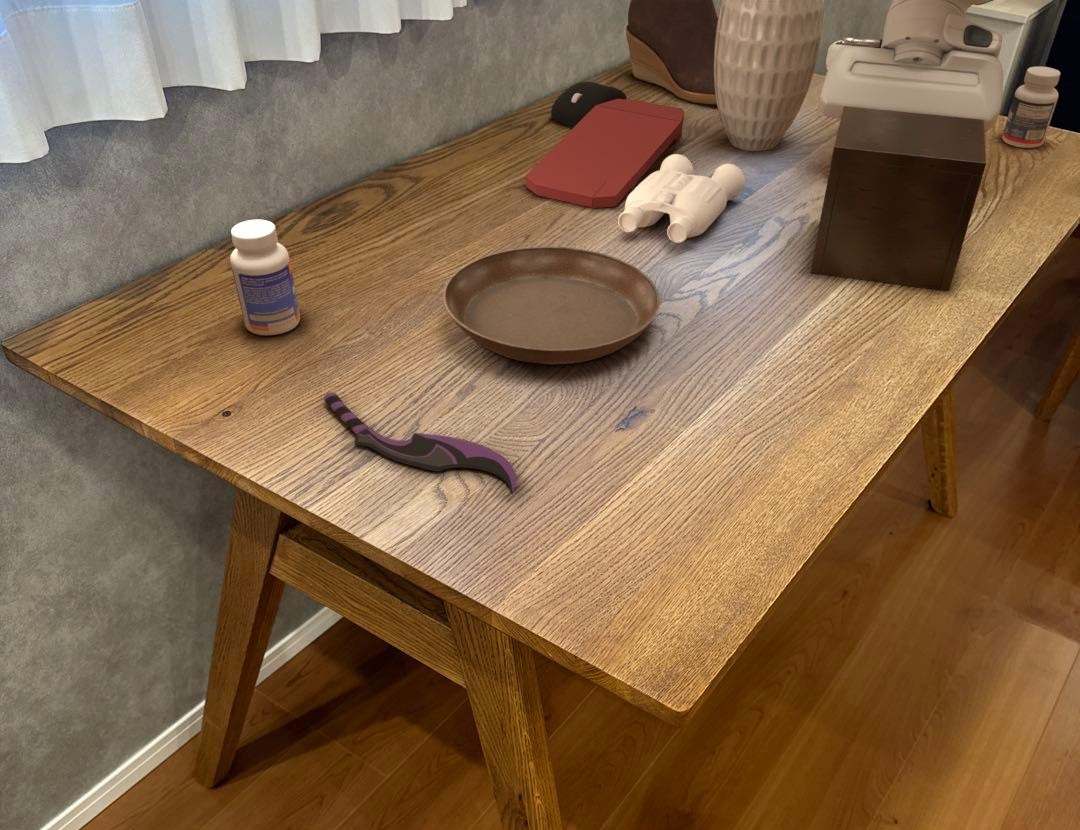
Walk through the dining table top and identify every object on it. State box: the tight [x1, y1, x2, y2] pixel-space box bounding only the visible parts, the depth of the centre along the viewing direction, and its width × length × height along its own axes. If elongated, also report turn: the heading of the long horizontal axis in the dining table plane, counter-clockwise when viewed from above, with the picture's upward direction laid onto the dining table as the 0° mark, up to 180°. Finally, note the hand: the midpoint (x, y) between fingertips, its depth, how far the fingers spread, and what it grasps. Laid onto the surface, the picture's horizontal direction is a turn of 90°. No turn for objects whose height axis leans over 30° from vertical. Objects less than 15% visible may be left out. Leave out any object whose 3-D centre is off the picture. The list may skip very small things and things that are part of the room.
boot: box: [625, 0, 718, 105], centre depth 143 cm, size 9×24×20 cm, turn 47°
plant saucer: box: [442, 246, 661, 365], centre depth 98 cm, size 21×21×3 cm
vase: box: [714, 0, 825, 152], centre depth 125 cm, size 13×13×28 cm
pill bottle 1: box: [229, 219, 301, 336], centre depth 96 cm, size 5×5×10 cm
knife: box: [323, 391, 518, 493], centre depth 84 cm, size 21×1×5 cm
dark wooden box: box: [809, 106, 987, 292], centre depth 105 cm, size 14×12×13 cm
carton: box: [524, 98, 685, 209], centre depth 128 cm, size 12×5×25 cm
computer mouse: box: [550, 81, 628, 128], centre depth 141 cm, size 8×12×4 cm, turn 139°
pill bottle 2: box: [1001, 66, 1061, 149], centre depth 132 cm, size 5×5×9 cm
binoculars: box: [617, 153, 746, 244], centre depth 115 cm, size 10×16×5 cm, turn 153°
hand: (896, 157), depth 119 cm, fingers closed
